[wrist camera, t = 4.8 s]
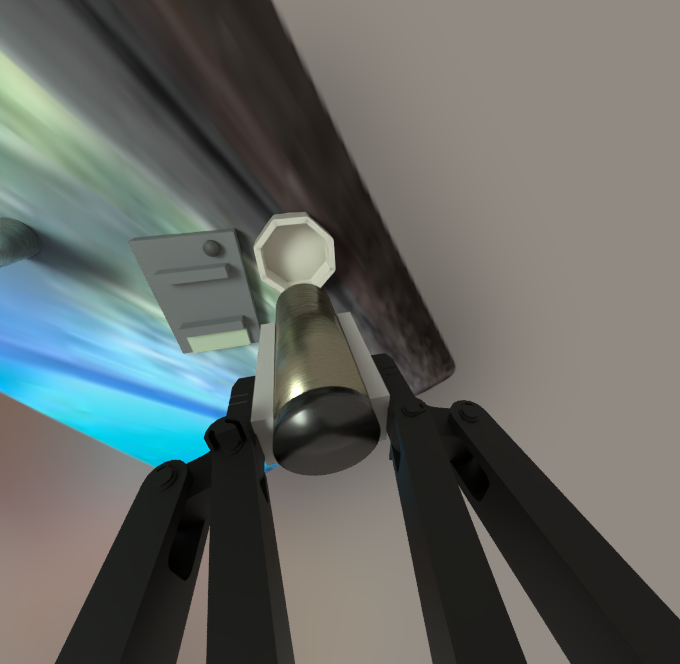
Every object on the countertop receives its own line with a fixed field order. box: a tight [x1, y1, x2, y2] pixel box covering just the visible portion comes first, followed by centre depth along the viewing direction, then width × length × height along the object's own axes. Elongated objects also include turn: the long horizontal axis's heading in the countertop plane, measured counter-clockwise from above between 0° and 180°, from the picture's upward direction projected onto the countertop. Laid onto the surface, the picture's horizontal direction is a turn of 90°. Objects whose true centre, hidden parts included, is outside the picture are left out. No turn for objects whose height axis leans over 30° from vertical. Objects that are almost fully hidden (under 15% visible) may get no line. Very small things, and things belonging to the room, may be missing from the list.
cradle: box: [128, 229, 261, 353], centre depth 30 cm, size 14×10×3 cm
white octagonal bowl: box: [254, 212, 335, 293], centre depth 29 cm, size 8×8×4 cm
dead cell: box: [273, 283, 381, 475], centre depth 13 cm, size 4×4×10 cm
